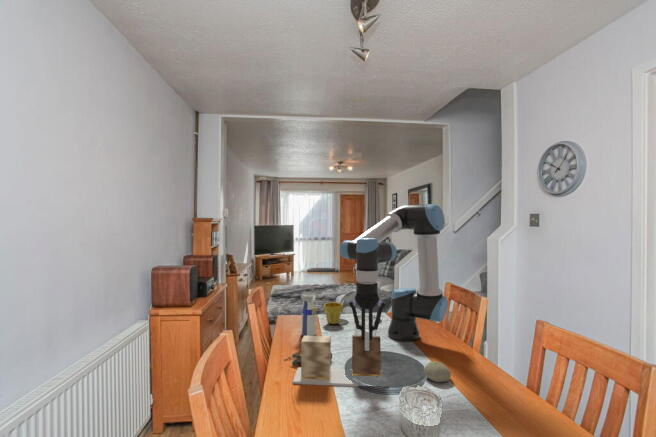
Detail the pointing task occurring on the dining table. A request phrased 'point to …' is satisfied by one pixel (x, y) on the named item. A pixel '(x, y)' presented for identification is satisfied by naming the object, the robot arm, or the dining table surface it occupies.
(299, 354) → the decorative book
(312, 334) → the water bottle
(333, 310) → the plant pot
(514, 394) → the dining table surface
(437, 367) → the sea urchin shell
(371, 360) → the walnut block
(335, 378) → the felt mat
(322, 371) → the oak block
